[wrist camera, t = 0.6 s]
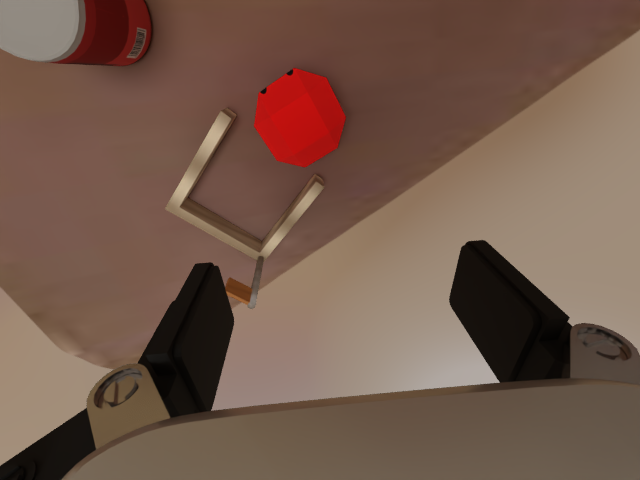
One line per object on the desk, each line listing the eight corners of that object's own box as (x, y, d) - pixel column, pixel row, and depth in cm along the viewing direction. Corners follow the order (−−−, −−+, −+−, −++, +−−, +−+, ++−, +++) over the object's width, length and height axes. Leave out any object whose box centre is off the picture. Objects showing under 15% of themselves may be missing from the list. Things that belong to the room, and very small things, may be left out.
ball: (311, 57, 29) (315, 52, 23) (347, 127, 33) (359, 140, 26) (249, 101, 31) (236, 107, 24) (289, 163, 35) (287, 184, 28)
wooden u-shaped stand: (227, 107, 31) (192, 124, 21) (322, 179, 36) (332, 221, 26) (174, 199, 36) (124, 249, 26) (264, 251, 41) (253, 311, 30)
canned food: (136, -44, 25) (34, -118, 15) (166, 63, 29) (102, 58, 19) (46, -39, 24) (-114, -111, 15) (89, 69, 28) (-14, 66, 19)
